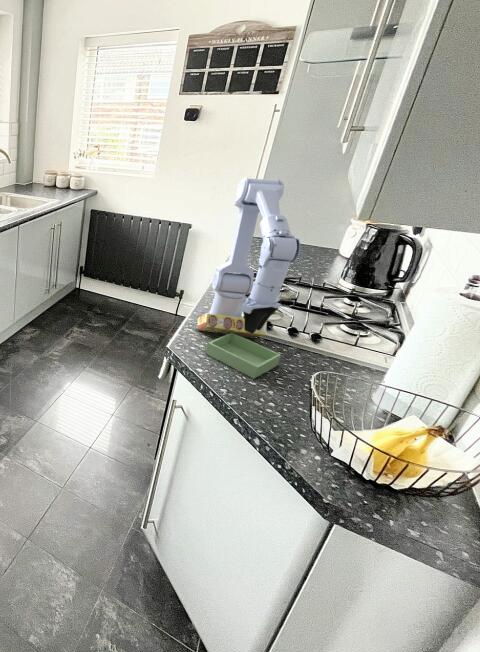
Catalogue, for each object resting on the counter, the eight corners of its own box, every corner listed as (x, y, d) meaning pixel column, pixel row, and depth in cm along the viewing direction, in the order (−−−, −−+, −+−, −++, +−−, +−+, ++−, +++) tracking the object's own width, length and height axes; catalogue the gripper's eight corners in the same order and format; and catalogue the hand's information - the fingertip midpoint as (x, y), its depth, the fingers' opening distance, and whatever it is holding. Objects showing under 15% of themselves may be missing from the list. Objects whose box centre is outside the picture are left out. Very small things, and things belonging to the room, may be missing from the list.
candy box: (267, 320, 117) (207, 312, 121) (266, 335, 116) (205, 326, 120) (254, 324, 125) (198, 316, 129) (253, 339, 125) (196, 330, 129)
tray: (228, 342, 122) (231, 332, 121) (277, 365, 112) (281, 354, 110) (204, 353, 117) (208, 342, 116) (253, 378, 107) (258, 367, 105)
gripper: (269, 295, 99) (252, 344, 105) (300, 283, 106) (283, 329, 111) (239, 284, 105) (225, 331, 110) (270, 273, 111) (255, 318, 117)
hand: (252, 329), depth 111 cm, fingers closed
